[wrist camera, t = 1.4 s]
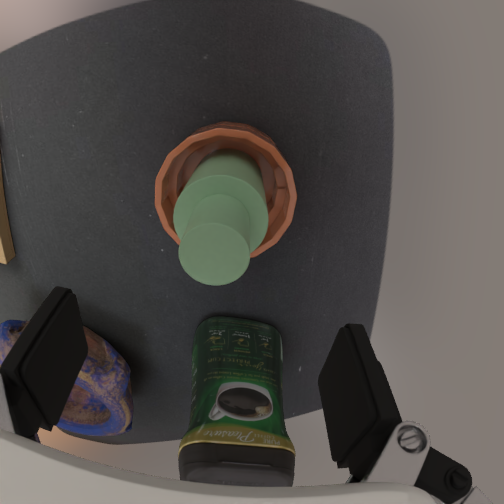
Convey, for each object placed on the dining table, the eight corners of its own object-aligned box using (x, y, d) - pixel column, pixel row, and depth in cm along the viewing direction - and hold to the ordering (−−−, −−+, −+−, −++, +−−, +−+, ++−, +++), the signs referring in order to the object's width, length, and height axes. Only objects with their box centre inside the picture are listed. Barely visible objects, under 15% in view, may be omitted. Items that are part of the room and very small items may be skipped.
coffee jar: (191, 355, 36) (170, 502, 20) (199, 306, 32) (172, 478, 16) (270, 367, 37) (279, 510, 21) (289, 321, 34) (312, 487, 17)
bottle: (197, 144, 24) (156, 193, 13) (267, 153, 24) (284, 208, 14) (191, 209, 26) (156, 295, 16) (256, 217, 27) (263, 308, 16)
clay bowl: (175, 116, 23) (158, 123, 19) (297, 131, 24) (308, 141, 20) (168, 225, 28) (154, 253, 23) (276, 238, 29) (281, 268, 24)
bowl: (138, 402, 42) (125, 458, 33) (35, 362, 38) (11, 410, 30) (156, 324, 34) (134, 396, 25) (22, 274, 30) (-22, 327, 22)
